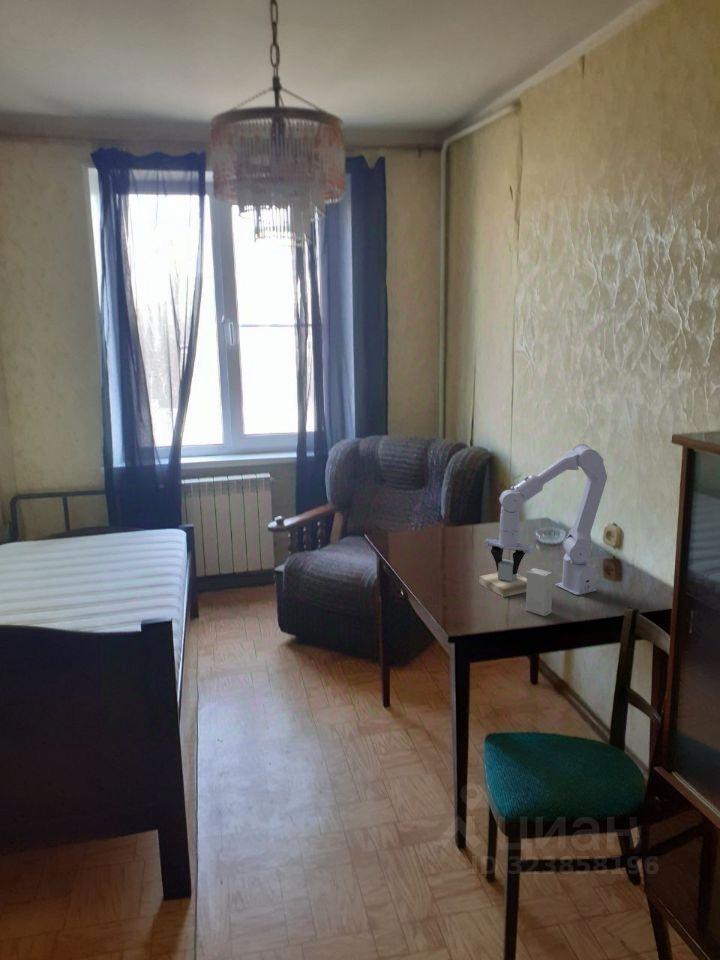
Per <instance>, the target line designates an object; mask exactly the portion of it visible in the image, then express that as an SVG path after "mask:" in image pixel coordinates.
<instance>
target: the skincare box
mask: <svg viewBox="0 0 720 960" xmlns="http://www.w3.org/2000/svg"><path fill="white" fill-rule="evenodd" d="M553 574H554V573H553V572H551V571H548V570H544V569H540V568H536V567H533V568H531V569H529V570H528V571H526V578H527V591H526V592H525V593H526V594H525V595H526V598H525V600H526V601H525V611H527V612H529V613H532V614H536V615H540V616H542V617H546V616H548V615H549V614H551V613H552V603H553V602H552V601H553Z"/></svg>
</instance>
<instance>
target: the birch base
mask: <svg viewBox="0 0 720 960" xmlns="http://www.w3.org/2000/svg"><path fill="white" fill-rule="evenodd" d="M478 578H479V579H478V584H479V585H481V586H482V587H483V588H486V589H487V590H489V589H490V590H489V591H491V592H493V593H495V594H497V595H499V596H500V595H501V597H502V598H506V597H509V596H514V595H518V594H523V593H526V591H527V577H525V576H523V575H521V574H519V573H517V577H516V578H515V579H514V580H513V581H507V580H502V579H498V572H494V573H489V574H484V575H483V574H482V575H479V576H478Z"/></svg>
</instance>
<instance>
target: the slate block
mask: <svg viewBox="0 0 720 960" xmlns="http://www.w3.org/2000/svg"><path fill="white" fill-rule="evenodd" d="M497 573H498V579H502V580H507V581H513V580H514V579H515V578H516V577H517V574H518V573H517V574H513V560H510V559H504V558H502V561H501V562H499V563H498V571H497Z"/></svg>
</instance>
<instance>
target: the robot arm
mask: <svg viewBox="0 0 720 960" xmlns="http://www.w3.org/2000/svg"><path fill="white" fill-rule="evenodd" d="M579 468H580V469H582V471H583V473H584V474H585V476H586V477H587V481H586V484H585V486H584V489H583V493H582V497H581V500H580V504H579V507H578V510H577V512H576V513H577V514H576V518H575V520H574V524H573V526H572V528H570V530H569V531H568V534H567V536H566V537H565V538H564V539H563V542H562V549H563V550H564V552H565V553H564V555H563V559H562V561H563V562H562V577H561V581H560V582H557V583H555V586H556V587H558V588H561V589H563V590H564V591H566V592H569V593H571V594H574V595H575V596H580V595H585V594H588V593H593V592H596V591H597V589H596V588H595V582H596V569H595V567H594V566H592V565H591V564H590V562H589V559H590V558H591V555H592V551H591V544H592V535H591V532H592V529H593V526H594V523H595V519H596V516H597V512H598V509H599V506H600V503H601V500H602V496H603V493H604V490H605V487H606V484H607V480H608V475H607V474H608V473H607V471H606V470H607V469H606V467H605V464H604V458H603V457H602V455H601V454H600V453H599V452H598V451H597V450H595V449H593V448H591V447H590V446H589V445H587V444H585V443H579V444H577V445H575V446H573V448H571V449H568V450H567V451H566V452H564V454H563V455H561V456H560V457H559V458H557V460H555V461H554V462H552V463H551V464H549V466H547V467H546V468H545V469H543V470H542V471H541V472H539V473H538V474H536V475H535V474H529V476H528V475H525V476H523V478H522V479H523V480H521V481H520V482H518V483H516V484H515V485H512V486H510V489H505V490H504V491H502V492H501V494H500V496H499V497H498V500H499V503H500V505H501V506H500V514H499V534H498V535H499V536H498V538H499V539H491V538H486V539H485V540H484V547H487V548H488V547H490V548H491V549H490V553H491V555H492V557H493V559H494V562H495V567H496V571H497V572H498V563H499V562H501V561H502V560H503V555H504V550H508V551H514V552H513V553H512V561H513V574H518V572H519V567H520V564H521V562H522V560H523V558H524V556H525V555H526V554H527V555H531V554H533V550H534V549H533V548H534V547H533V546H531V545H529V544H528V545H527V544H524V543H521V542H519V537H520V536H519V533H520V518H521V517H520V510H521V509H522V507H523V504H524V503H526V502H527V501H529V500H530V499H532V498H534V497H535V496H536V495H537V494H539V493H541V492H542V491H543V488H544V485H545V484H546V483H548V482H550V481H551V480H553V479H555V478H556V477H557V476H559V475H561V474H562V473H564V472H566V471H579V470H580V469H579Z"/></svg>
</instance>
